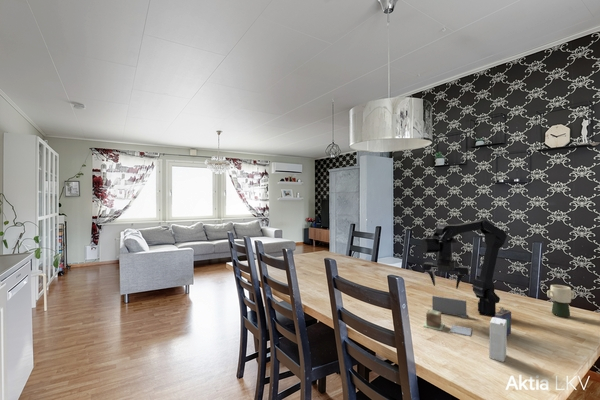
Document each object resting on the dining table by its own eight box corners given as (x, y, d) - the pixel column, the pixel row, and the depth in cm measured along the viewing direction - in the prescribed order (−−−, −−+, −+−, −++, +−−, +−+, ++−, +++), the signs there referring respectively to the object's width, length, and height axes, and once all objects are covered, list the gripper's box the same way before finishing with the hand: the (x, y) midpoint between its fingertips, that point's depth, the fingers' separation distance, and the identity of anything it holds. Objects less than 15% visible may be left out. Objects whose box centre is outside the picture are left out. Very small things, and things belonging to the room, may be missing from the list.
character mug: (568, 313, 137) (567, 284, 137) (580, 319, 130) (580, 289, 130) (542, 312, 139) (541, 284, 139) (553, 318, 132) (552, 288, 132)
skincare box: (491, 351, 103) (491, 316, 103) (507, 355, 100) (506, 319, 101) (488, 358, 99) (488, 321, 99) (505, 363, 96) (504, 325, 96)
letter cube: (441, 323, 126) (441, 311, 126) (439, 328, 121) (439, 315, 121) (428, 321, 128) (428, 309, 128) (426, 325, 124) (426, 312, 124)
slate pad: (471, 329, 121) (471, 328, 121) (470, 336, 115) (470, 335, 115) (452, 325, 124) (452, 324, 124) (450, 332, 118) (450, 331, 118)
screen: (466, 314, 136) (466, 299, 136) (466, 318, 132) (466, 302, 132) (433, 309, 144) (433, 294, 144) (431, 312, 139) (431, 297, 140)
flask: (500, 339, 112) (500, 310, 112) (492, 336, 114) (491, 308, 114) (512, 334, 117) (512, 306, 117) (504, 331, 119) (504, 304, 119)
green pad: (444, 324, 126) (444, 323, 126) (442, 330, 120) (442, 329, 120) (426, 320, 130) (426, 320, 130) (423, 326, 124) (423, 325, 124)
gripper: (419, 253, 133) (420, 288, 133) (467, 257, 123) (468, 295, 123) (424, 250, 143) (424, 282, 143) (469, 253, 133) (469, 288, 133)
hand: (445, 287), depth 135 cm, fingers open, 9 cm apart
